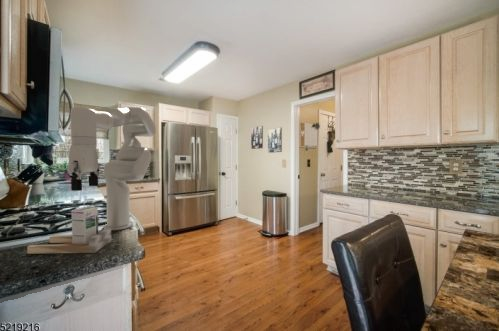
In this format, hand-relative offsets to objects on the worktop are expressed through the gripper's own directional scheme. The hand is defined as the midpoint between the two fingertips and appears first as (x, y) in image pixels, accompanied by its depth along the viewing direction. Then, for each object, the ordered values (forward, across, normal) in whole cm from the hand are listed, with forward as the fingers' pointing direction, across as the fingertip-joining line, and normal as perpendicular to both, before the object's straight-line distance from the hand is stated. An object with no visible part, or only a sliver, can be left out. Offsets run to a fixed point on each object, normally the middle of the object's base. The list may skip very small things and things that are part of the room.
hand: (85, 188), depth 84 cm
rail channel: (+22, +1, -6) cm, 23 cm away
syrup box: (+22, +1, 0) cm, 22 cm away
